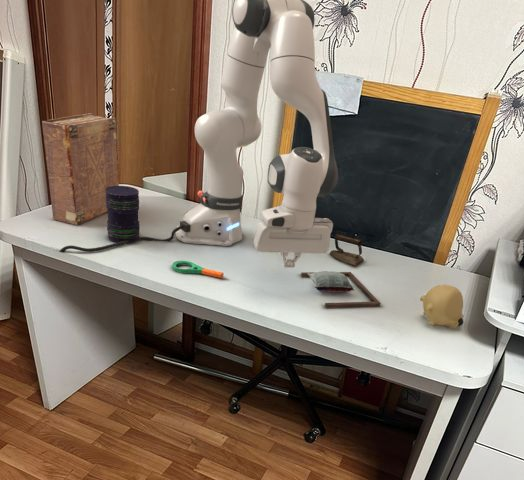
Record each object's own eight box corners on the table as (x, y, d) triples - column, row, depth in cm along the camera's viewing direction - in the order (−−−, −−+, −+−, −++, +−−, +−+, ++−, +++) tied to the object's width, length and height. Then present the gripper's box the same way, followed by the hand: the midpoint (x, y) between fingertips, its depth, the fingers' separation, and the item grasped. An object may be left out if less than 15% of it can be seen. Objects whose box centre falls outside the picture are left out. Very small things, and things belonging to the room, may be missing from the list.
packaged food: (306, 281, 145) (309, 265, 142) (345, 283, 147) (348, 267, 145) (313, 295, 138) (316, 279, 135) (353, 296, 140) (357, 281, 137)
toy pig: (440, 343, 131) (479, 322, 127) (421, 311, 125) (461, 289, 121) (429, 323, 139) (465, 303, 135) (410, 292, 133) (447, 271, 130)
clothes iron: (356, 269, 158) (355, 239, 153) (325, 266, 164) (322, 237, 159) (365, 261, 163) (364, 231, 158) (334, 258, 169) (332, 230, 164)
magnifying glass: (168, 269, 141) (168, 264, 140) (178, 262, 146) (178, 257, 145) (217, 282, 138) (218, 276, 137) (226, 274, 143) (226, 269, 142)
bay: (325, 308, 132) (326, 304, 132) (300, 275, 148) (301, 272, 148) (380, 306, 137) (380, 303, 136) (349, 274, 153) (350, 271, 152)
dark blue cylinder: (129, 246, 152) (127, 197, 144) (101, 239, 154) (98, 190, 146) (145, 236, 160) (145, 190, 152) (119, 230, 162) (117, 183, 154)
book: (98, 201, 184) (92, 112, 168) (120, 206, 182) (116, 117, 166) (52, 219, 163) (41, 120, 147) (77, 225, 161) (68, 126, 145)
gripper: (330, 214, 132) (319, 262, 140) (255, 210, 126) (249, 261, 134) (338, 222, 127) (327, 272, 135) (262, 219, 121) (255, 271, 129)
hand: (288, 266), depth 134 cm, fingers closed
